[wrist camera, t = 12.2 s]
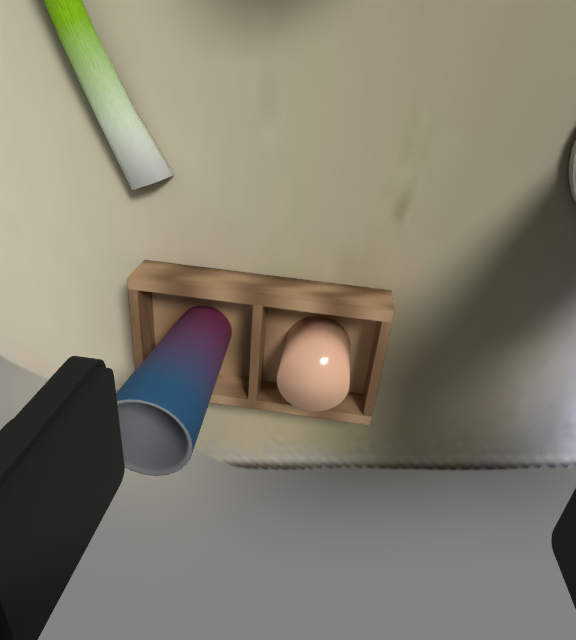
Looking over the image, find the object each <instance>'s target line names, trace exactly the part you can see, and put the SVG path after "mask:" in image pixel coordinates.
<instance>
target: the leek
mask: <svg viewBox="0 0 576 640" xmlns="http://www.w3.org/2000/svg"><path fill="white" fill-rule="evenodd" d="M43 1H44V3H45V5H46V8H47V10H48V13H49V15H50V17H51V20H52V22H53V24H54V27H55V29H56V32H57V34H58V36H59V39H60V41H61V43H62V45H63V48H64V50H65V52H66V54H67V56H68V58H69V60H70V62H71V65H72V67H73V69H74V71H75V73H76V75H77V77H78V79H79V82H80V84H81V86H82V88H83V90H84V92H85V94H86V96H87V99H88V101H89V103H90V105H91V107H92V109H93V111H94V113H95V116H96V118H97V120H98V122H99V124H100V126H101V128H102V130H103V132H104V134H105V136H106V138H107V140H108V142H109V144H110V146H111V148H112V150H113V152H114V154H115V156H116V158H117V160H118V162H119V164H120V166H121V168H122V171H123V173H124V175H125V177H126V179H127V181H128V183H129V185H130V187H131V189H132V190H135V189H138V188H141V187H144V186H147V185H150V184H153V183H156V182H159V181H161V180H164V179H166V178H168V177H171V176H173V175H174V174H173V172H172V170H171V169H170V167H169V165H168V163H167V162H166V160H165V158H164V156H163V155H162V153H161V152H160V150H159V148H158V147H157V145H156V143H155V142H154V140H153V138H152V137H151V135H150V133H149V132H148V130H147V129H146V127H145V125H144V124H143V122H142V120H141V119H140V117H139V115H138V114H137V112H136V111H135V109H134V107H133V105H132V103H131V101H130V99H129V97H128V95H127V93H126V91H125V89H124V87H123V85H122V83H121V81H120V79H119V77H118V75H117V73H116V71H115V69H114V67H113V65H112V63H111V61H110V59H109V57H108V55H107V53H106V51H105V49H104V47H103V45H102V43H101V41H100V39H99V37H98V35H97V33H96V31H95V29H94V27H93V25H92V22H91V20H90V18H89V15H88V13H87V11H86V9H85V6H84V4H83V2H82V0H43Z"/></svg>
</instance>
